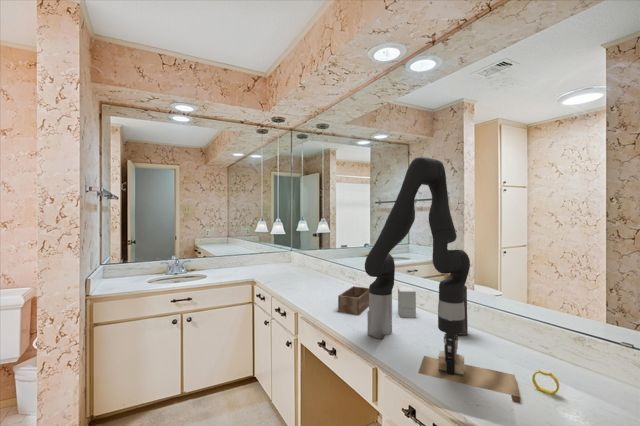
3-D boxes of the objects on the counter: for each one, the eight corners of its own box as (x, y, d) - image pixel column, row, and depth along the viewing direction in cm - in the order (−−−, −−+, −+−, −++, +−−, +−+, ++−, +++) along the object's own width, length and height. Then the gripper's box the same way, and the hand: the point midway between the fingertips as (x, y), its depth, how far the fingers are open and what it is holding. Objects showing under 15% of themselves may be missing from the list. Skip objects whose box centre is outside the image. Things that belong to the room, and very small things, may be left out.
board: (418, 377, 92) (418, 372, 92) (423, 360, 102) (423, 355, 102) (520, 402, 80) (520, 396, 80) (514, 379, 91) (514, 374, 91)
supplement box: (412, 312, 150) (412, 287, 149) (416, 318, 142) (416, 291, 142) (397, 312, 150) (397, 287, 150) (400, 317, 143) (400, 291, 143)
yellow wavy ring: (532, 390, 86) (530, 368, 86) (534, 386, 88) (533, 365, 88) (558, 398, 81) (556, 375, 82) (560, 394, 83) (558, 372, 84)
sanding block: (438, 370, 93) (438, 356, 93) (439, 364, 96) (439, 350, 96) (463, 376, 90) (463, 361, 89) (464, 370, 93) (464, 355, 93)
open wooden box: (338, 311, 151) (338, 295, 151) (353, 300, 170) (353, 286, 170) (359, 315, 146) (359, 298, 146) (372, 303, 165) (372, 288, 165)
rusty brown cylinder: (455, 337, 120) (456, 287, 120) (443, 330, 128) (443, 283, 127) (471, 335, 123) (471, 286, 122) (458, 328, 130) (459, 282, 129)
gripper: (440, 306, 101) (440, 357, 101) (435, 320, 88) (435, 378, 88) (465, 309, 97) (465, 362, 97) (463, 324, 85) (463, 385, 85)
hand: (451, 370), depth 93 cm, fingers closed on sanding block, 4 cm apart
